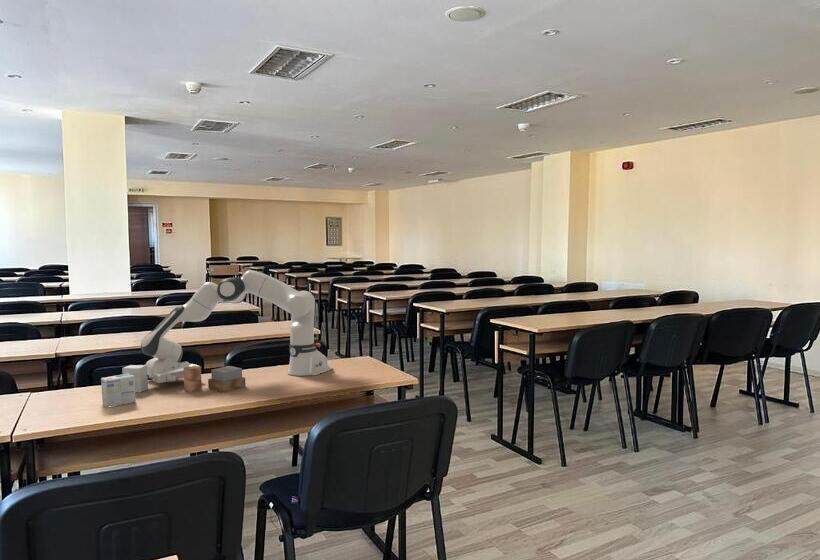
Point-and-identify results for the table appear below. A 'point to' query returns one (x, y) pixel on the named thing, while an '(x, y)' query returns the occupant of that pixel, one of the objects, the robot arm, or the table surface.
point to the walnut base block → (226, 384)
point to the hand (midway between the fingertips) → (186, 376)
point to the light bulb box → (118, 390)
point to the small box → (138, 376)
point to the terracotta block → (192, 378)
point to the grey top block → (226, 373)
